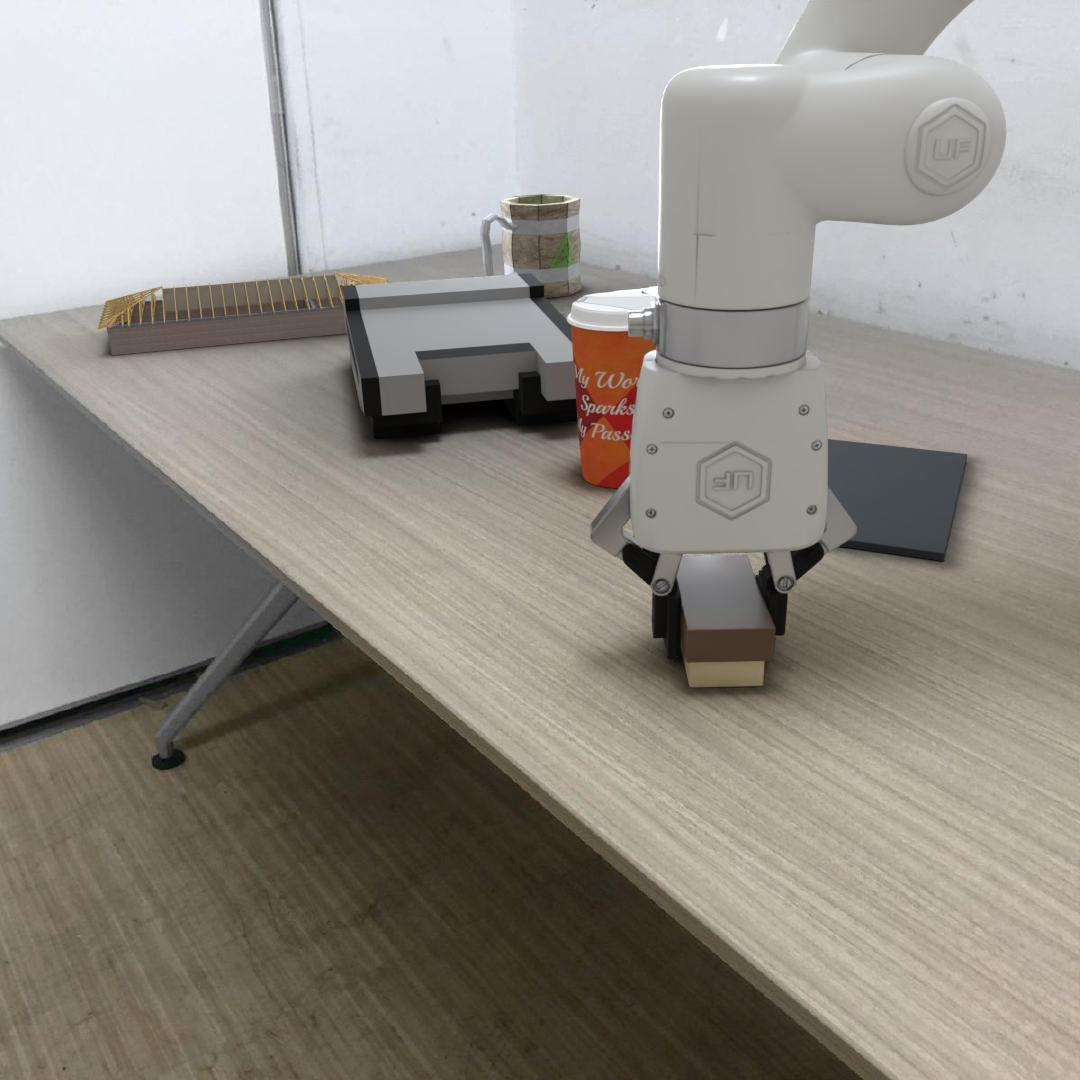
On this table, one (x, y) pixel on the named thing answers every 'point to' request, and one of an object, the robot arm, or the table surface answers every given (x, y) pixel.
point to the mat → (896, 496)
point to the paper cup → (606, 381)
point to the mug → (538, 240)
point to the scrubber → (723, 622)
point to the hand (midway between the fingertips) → (716, 643)
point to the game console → (458, 350)
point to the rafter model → (228, 313)
